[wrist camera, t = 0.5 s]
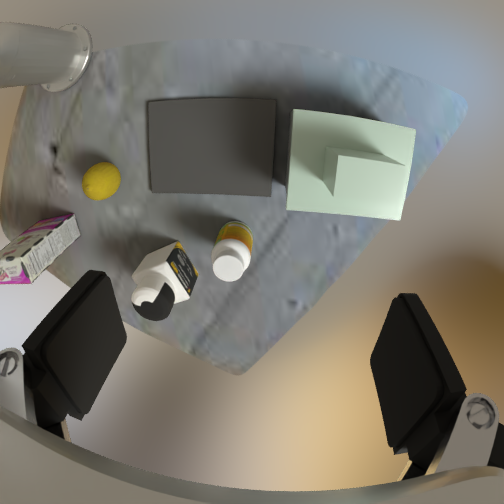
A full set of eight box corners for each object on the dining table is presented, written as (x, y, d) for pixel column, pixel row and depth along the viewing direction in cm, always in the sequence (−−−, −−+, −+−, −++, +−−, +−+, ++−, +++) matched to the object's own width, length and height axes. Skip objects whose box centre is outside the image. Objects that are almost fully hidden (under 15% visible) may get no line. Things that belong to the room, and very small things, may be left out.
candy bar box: (46, 242, 48) (-3, 285, 34) (38, 220, 46) (-14, 260, 31) (83, 236, 47) (31, 285, 32) (75, 212, 45) (18, 256, 30)
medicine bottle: (199, 274, 49) (182, 320, 38) (166, 286, 51) (144, 330, 40) (179, 239, 46) (154, 280, 35) (146, 254, 48) (117, 295, 37)
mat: (153, 191, 42) (152, 192, 41) (150, 102, 35) (148, 102, 35) (270, 195, 42) (270, 196, 41) (276, 99, 35) (276, 99, 34)
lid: (285, 203, 35) (289, 231, 28) (292, 109, 29) (299, 108, 22) (393, 213, 34) (420, 241, 27) (408, 127, 29) (442, 136, 22)
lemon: (119, 196, 43) (94, 214, 36) (95, 177, 41) (68, 192, 34) (134, 170, 41) (109, 184, 34) (109, 151, 39) (81, 161, 32)
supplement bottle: (222, 216, 44) (210, 246, 35) (256, 224, 44) (253, 255, 35) (216, 247, 46) (204, 281, 38) (249, 254, 47) (244, 290, 38)
